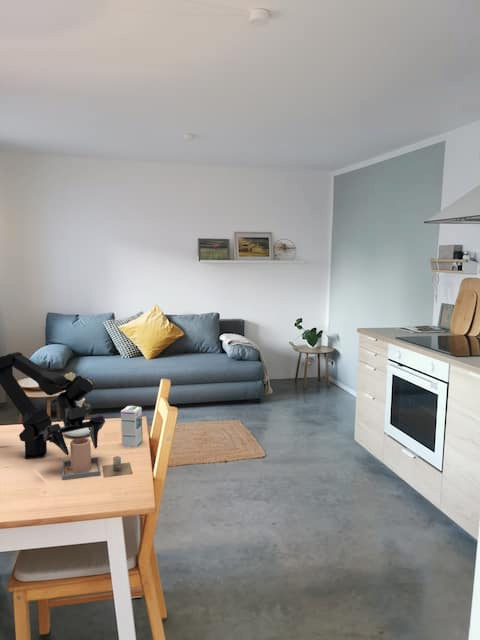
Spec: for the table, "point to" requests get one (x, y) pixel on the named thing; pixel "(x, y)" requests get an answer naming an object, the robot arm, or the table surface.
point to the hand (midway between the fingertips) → (82, 451)
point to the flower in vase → (79, 403)
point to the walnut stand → (117, 468)
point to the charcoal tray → (81, 475)
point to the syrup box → (131, 426)
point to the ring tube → (80, 455)
